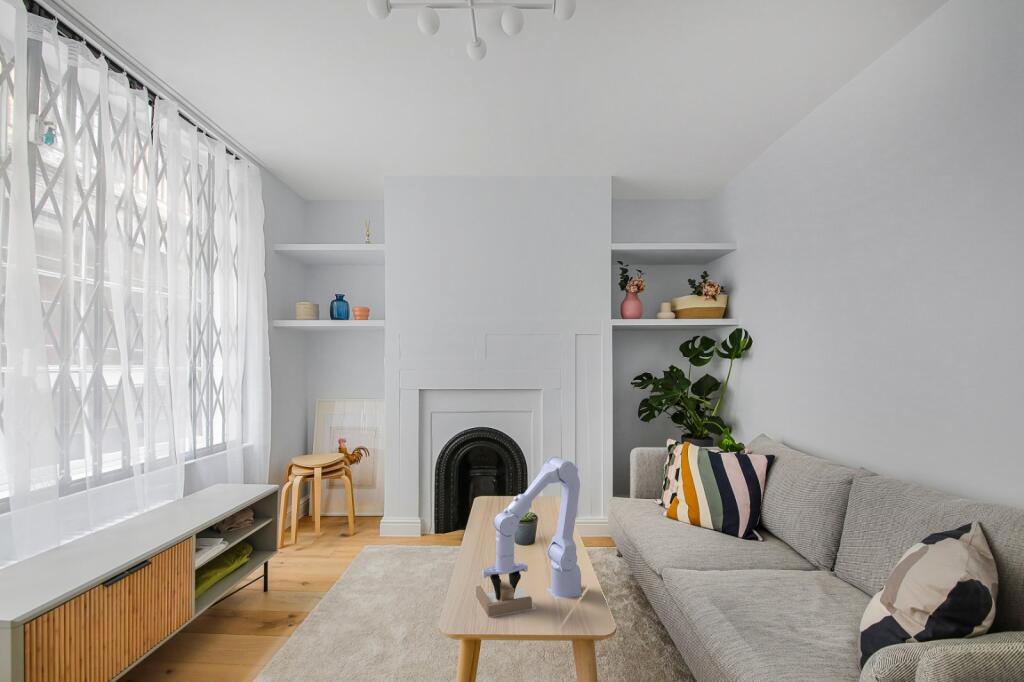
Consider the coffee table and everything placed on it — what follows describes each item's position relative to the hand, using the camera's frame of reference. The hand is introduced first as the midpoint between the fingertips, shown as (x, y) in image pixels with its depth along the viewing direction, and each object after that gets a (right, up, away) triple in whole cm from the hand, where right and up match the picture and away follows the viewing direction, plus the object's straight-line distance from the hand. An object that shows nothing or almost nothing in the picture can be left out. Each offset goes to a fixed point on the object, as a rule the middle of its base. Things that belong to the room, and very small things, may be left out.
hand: (504, 597), depth 154 cm
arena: (0, -3, +1) cm, 3 cm away
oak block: (0, -2, 0) cm, 2 cm away
